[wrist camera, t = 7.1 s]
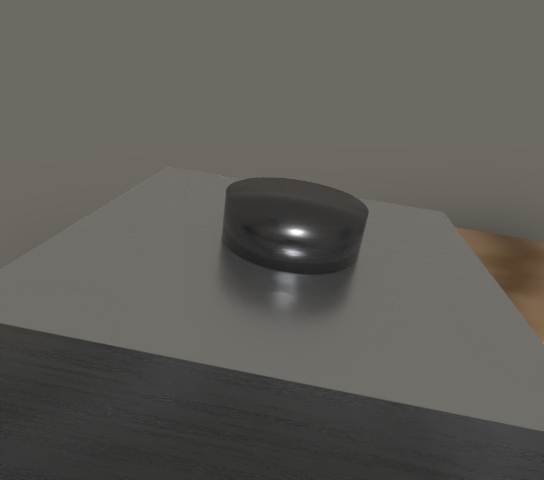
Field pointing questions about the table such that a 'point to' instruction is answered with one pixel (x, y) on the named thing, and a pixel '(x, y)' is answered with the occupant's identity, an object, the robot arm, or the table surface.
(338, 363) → the block
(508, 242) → the dock
